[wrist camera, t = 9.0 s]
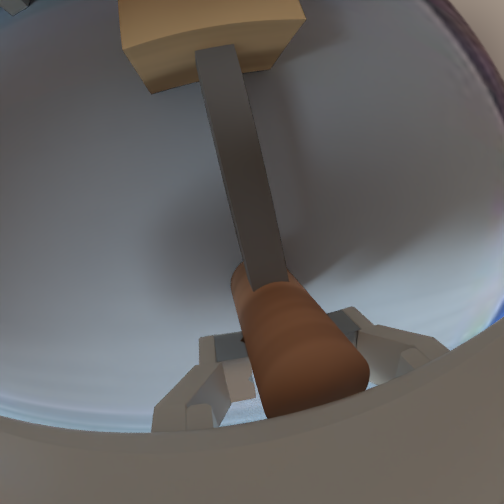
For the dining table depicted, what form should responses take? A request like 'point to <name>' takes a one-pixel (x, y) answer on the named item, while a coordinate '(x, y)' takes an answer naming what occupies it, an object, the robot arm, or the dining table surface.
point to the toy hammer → (247, 186)
